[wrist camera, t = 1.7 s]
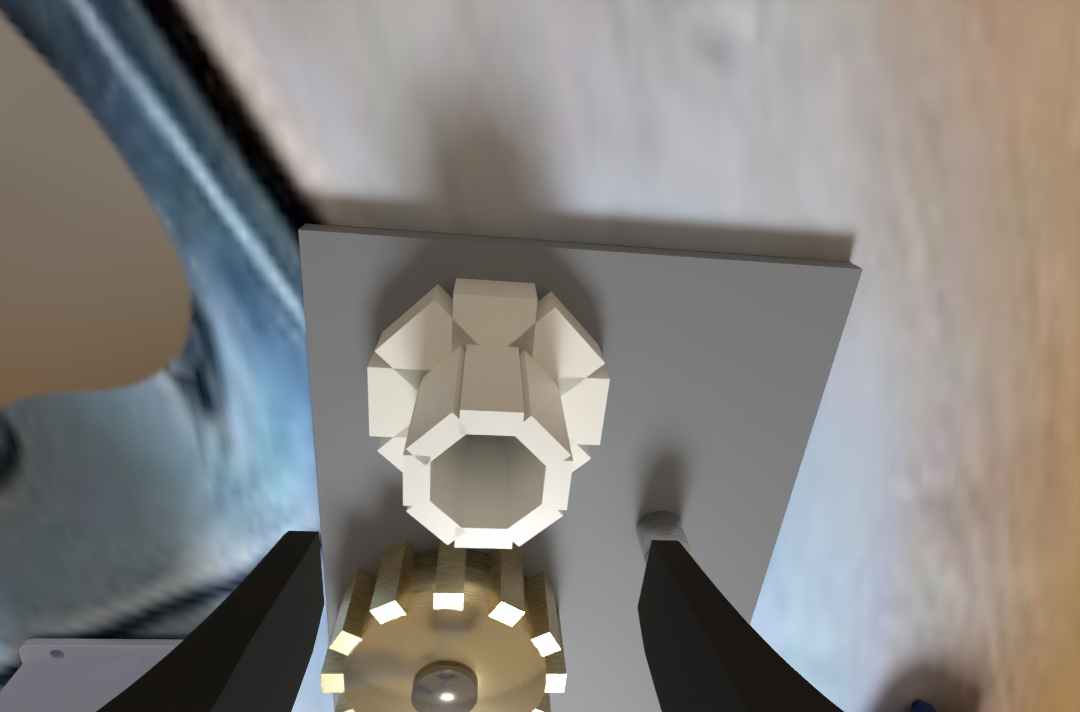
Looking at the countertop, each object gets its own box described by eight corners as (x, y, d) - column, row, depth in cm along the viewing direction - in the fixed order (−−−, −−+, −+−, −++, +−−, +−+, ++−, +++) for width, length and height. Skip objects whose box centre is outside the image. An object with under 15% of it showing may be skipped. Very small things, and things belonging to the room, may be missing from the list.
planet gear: (378, 473, 23) (346, 589, 18) (373, 272, 19) (332, 344, 14) (585, 480, 23) (609, 592, 18) (612, 288, 20) (651, 361, 15)
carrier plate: (338, 698, 29) (334, 714, 28) (305, 223, 19) (298, 229, 19) (716, 697, 30) (721, 712, 30) (850, 262, 21) (862, 269, 20)
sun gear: (344, 691, 27) (324, 776, 24) (334, 530, 24) (308, 605, 20) (547, 691, 28) (554, 773, 25) (569, 536, 24) (580, 608, 21)
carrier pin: (632, 545, 25) (652, 613, 22) (639, 509, 24) (660, 574, 21) (676, 546, 25) (701, 614, 22) (684, 511, 24) (712, 575, 21)
